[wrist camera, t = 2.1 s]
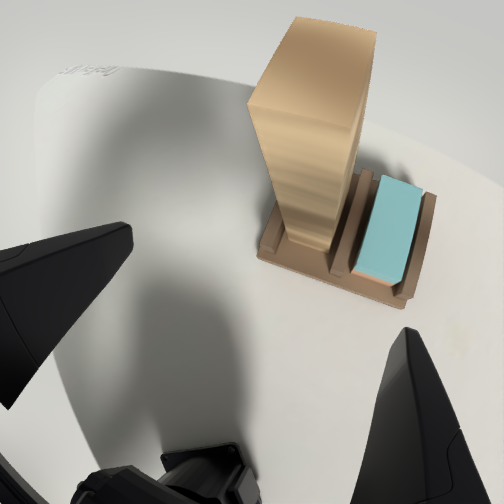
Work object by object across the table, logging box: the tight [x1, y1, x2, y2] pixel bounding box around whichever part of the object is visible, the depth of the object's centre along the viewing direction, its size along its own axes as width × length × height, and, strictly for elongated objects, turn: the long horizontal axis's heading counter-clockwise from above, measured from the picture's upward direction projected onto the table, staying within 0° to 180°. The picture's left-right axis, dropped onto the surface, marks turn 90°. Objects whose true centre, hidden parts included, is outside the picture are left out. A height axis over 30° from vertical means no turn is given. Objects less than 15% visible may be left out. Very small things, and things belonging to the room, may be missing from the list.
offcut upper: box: [353, 174, 423, 284], centre depth 18 cm, size 6×3×2 cm, turn 158°
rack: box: [256, 168, 437, 309], centre depth 20 cm, size 8×11×3 cm
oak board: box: [247, 17, 377, 253], centre depth 14 cm, size 4×3×14 cm, turn 158°
